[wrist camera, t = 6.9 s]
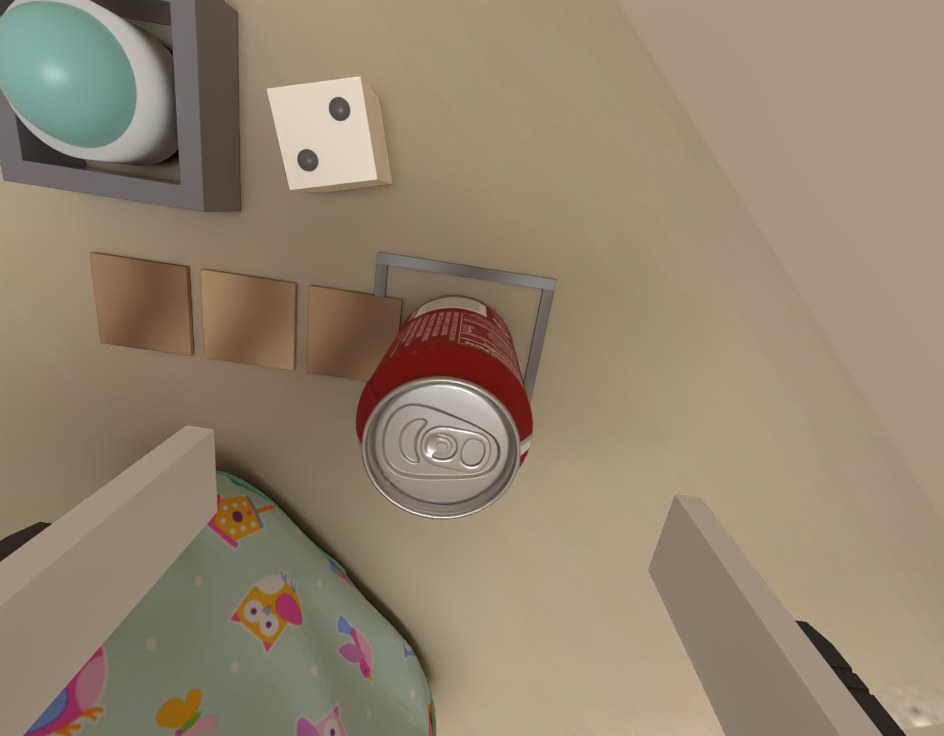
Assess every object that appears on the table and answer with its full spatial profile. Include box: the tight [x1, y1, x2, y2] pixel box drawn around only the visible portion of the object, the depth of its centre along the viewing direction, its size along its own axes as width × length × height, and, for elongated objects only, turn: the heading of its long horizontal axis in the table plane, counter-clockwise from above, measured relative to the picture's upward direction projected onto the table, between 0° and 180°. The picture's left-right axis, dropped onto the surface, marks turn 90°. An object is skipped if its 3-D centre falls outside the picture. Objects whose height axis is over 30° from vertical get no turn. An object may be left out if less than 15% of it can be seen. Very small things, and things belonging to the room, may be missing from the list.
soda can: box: [356, 296, 533, 519], centre depth 21 cm, size 7×7×12 cm
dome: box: [0, 0, 178, 166], centre depth 19 cm, size 6×6×5 cm
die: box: [267, 76, 392, 193], centre depth 22 cm, size 4×4×4 cm
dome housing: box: [0, 0, 241, 212], centre depth 21 cm, size 9×9×4 cm
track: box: [90, 252, 556, 404], centre depth 26 cm, size 26×10×1 cm, turn 81°
